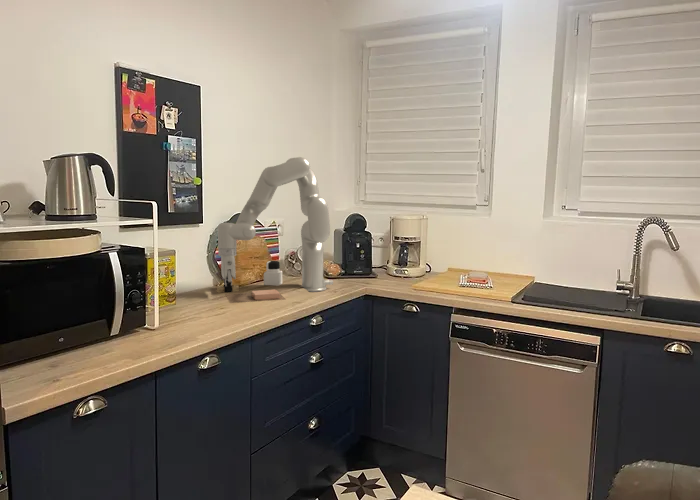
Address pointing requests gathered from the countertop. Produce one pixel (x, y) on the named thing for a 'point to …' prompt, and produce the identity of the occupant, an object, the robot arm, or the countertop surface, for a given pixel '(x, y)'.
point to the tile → (265, 294)
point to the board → (246, 298)
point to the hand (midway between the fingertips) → (228, 294)
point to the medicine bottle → (273, 273)
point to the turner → (222, 289)
